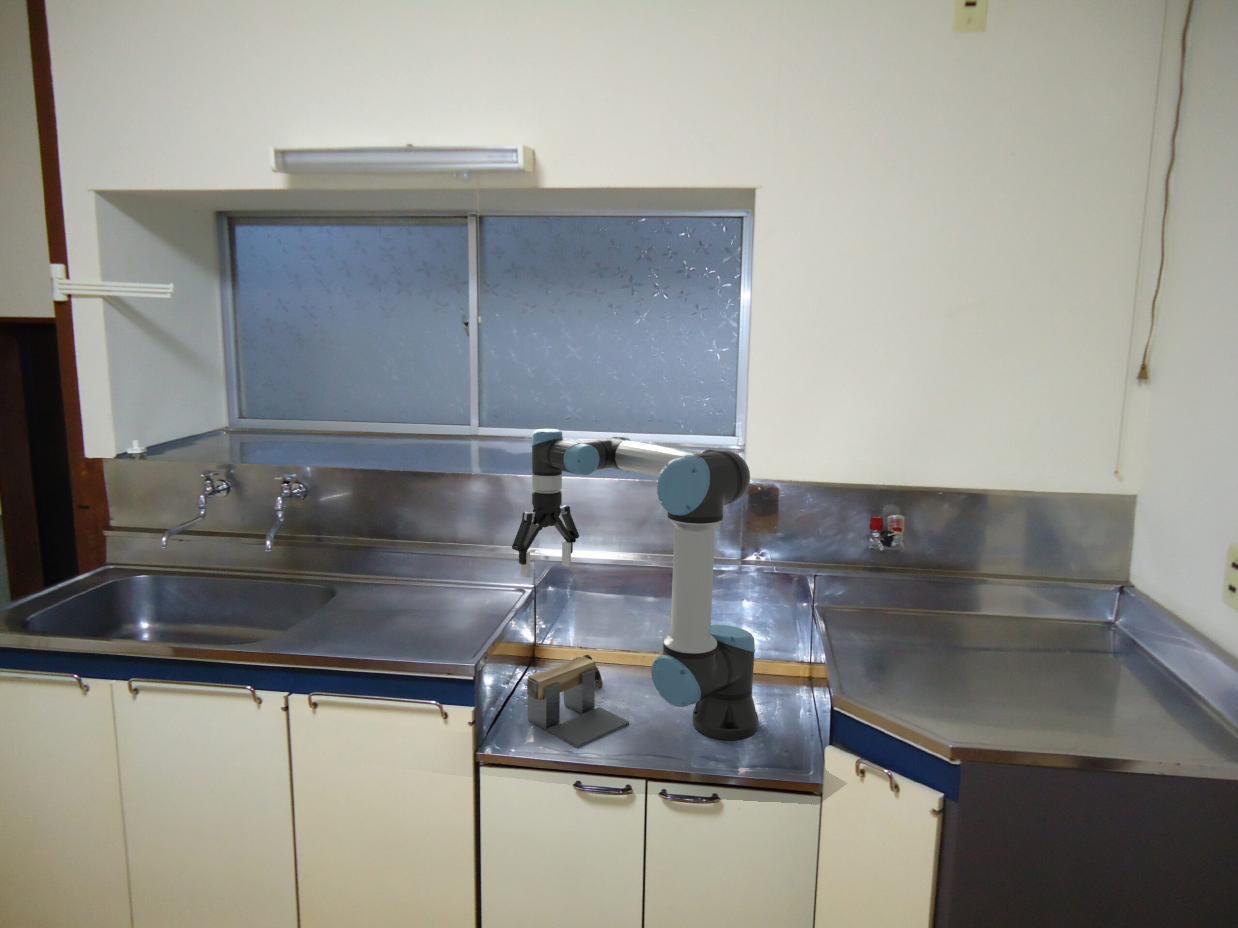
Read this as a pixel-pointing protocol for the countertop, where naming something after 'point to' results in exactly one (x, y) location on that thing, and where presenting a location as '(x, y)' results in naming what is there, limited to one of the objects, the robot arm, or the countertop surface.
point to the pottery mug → (597, 673)
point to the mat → (588, 727)
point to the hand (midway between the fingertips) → (546, 571)
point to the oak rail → (558, 676)
